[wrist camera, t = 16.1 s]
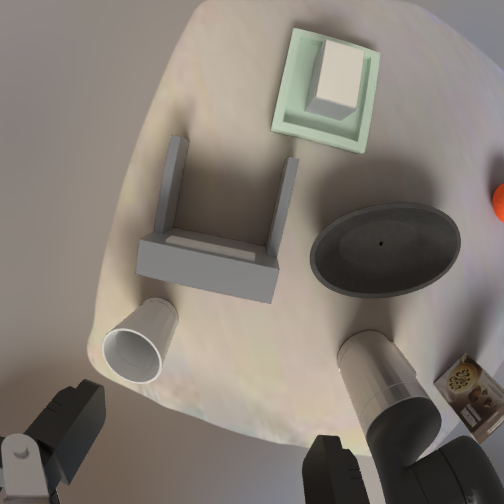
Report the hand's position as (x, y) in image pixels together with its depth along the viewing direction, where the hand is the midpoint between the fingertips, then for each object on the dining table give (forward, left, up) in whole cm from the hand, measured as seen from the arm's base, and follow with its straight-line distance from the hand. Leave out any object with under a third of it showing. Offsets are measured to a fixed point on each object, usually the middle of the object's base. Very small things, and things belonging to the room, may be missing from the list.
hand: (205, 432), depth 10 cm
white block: (-6, -23, -33) cm, 40 cm away
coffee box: (-45, +17, -34) cm, 59 cm away
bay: (+4, -4, -33) cm, 34 cm away
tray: (-6, -23, -33) cm, 41 cm away
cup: (+11, +14, -34) cm, 38 cm away
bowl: (-18, -4, -34) cm, 39 cm away
